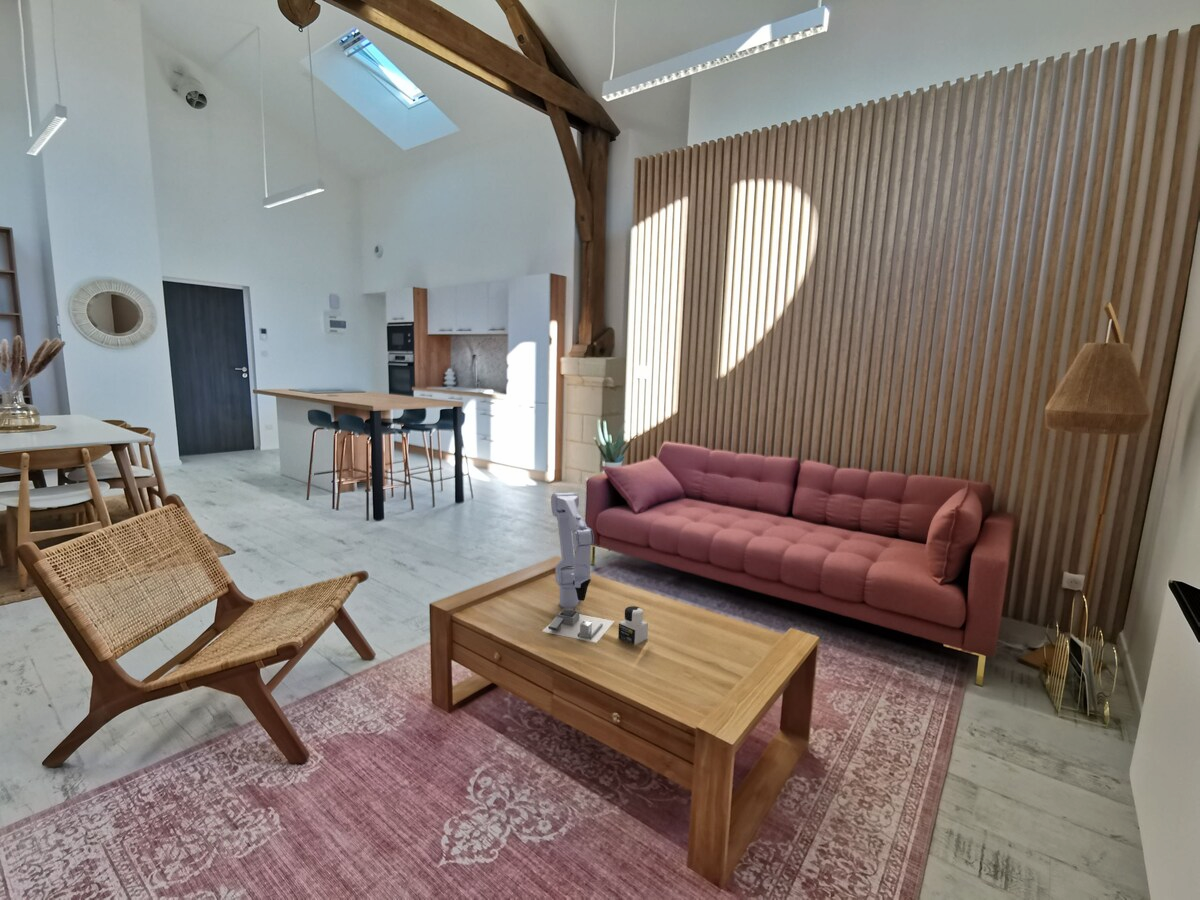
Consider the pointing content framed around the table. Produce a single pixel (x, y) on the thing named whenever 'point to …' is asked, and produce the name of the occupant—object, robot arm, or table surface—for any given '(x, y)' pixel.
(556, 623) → the rocker
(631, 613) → the medicine bottle
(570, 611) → the push button
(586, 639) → the panel
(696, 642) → the table surface
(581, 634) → the slider knob
